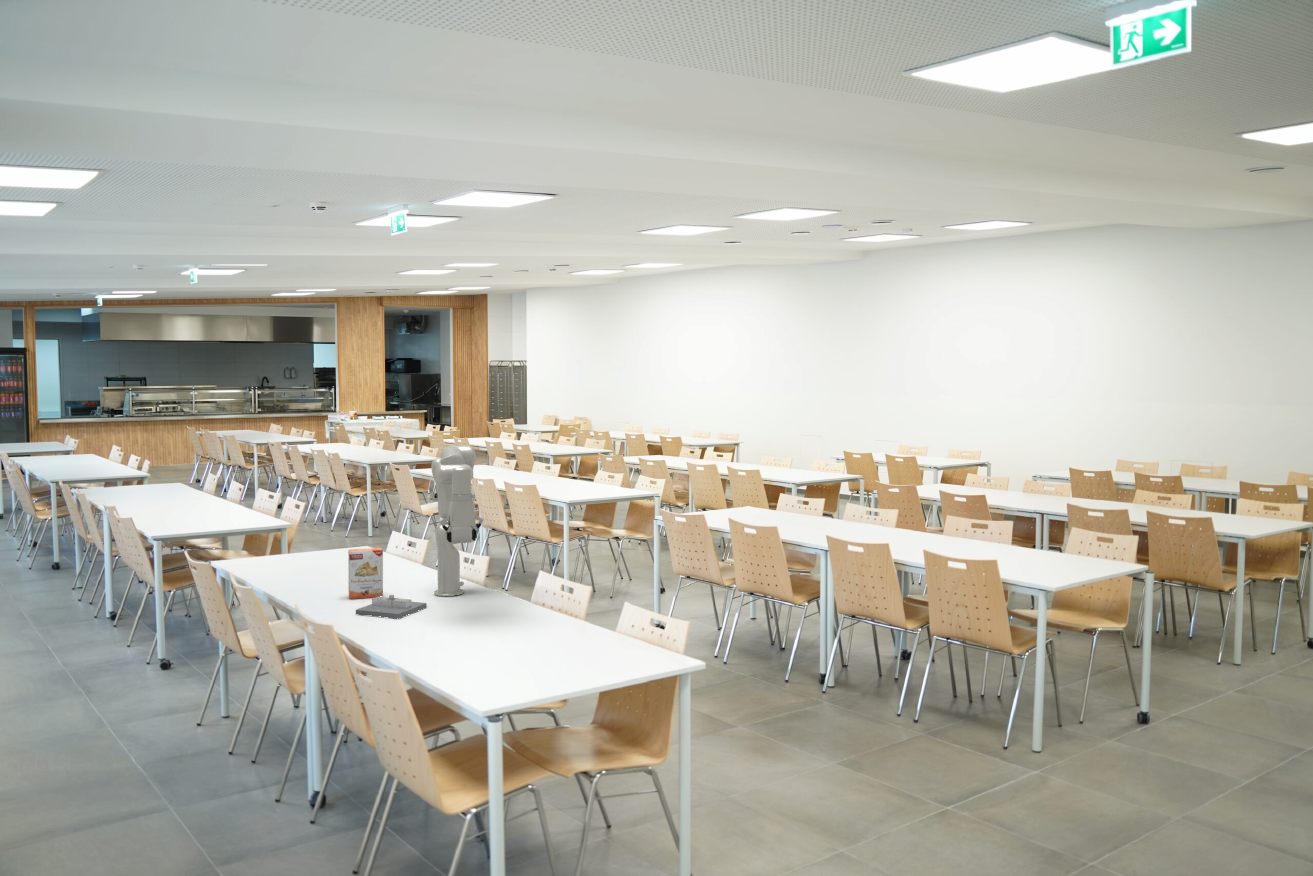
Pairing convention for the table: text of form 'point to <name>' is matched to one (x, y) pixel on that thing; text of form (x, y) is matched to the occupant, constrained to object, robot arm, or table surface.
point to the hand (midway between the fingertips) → (461, 541)
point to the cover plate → (390, 610)
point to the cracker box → (365, 573)
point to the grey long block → (391, 602)
